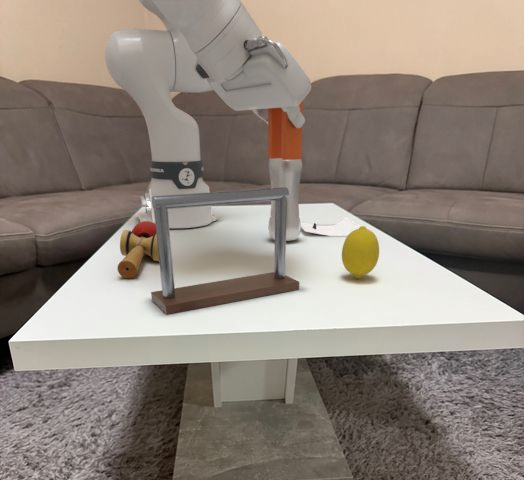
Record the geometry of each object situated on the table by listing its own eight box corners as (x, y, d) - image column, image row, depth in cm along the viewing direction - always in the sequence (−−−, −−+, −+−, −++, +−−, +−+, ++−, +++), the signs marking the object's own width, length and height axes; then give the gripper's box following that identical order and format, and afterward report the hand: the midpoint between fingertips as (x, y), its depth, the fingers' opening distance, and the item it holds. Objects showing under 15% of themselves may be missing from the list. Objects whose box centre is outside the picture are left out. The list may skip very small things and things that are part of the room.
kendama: (159, 286, 71) (176, 244, 86) (146, 248, 68) (166, 211, 83) (112, 294, 72) (136, 251, 87) (97, 257, 68) (125, 219, 83)
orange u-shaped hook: (267, 158, 75) (268, 94, 71) (283, 157, 77) (284, 95, 73) (285, 160, 71) (286, 92, 67) (301, 159, 72) (303, 93, 68)
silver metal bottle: (298, 245, 91) (302, 134, 82) (265, 243, 92) (265, 134, 84) (302, 238, 97) (306, 134, 88) (270, 236, 98) (271, 133, 89)
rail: (151, 300, 62) (139, 193, 56) (277, 278, 71) (279, 184, 65) (166, 314, 57) (155, 199, 51) (299, 289, 66) (303, 189, 60)
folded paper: (296, 226, 109) (296, 217, 108) (345, 225, 110) (346, 216, 109) (305, 236, 98) (305, 227, 97) (360, 235, 99) (361, 226, 98)
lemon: (354, 285, 68) (359, 231, 64) (333, 276, 72) (336, 224, 68) (383, 280, 70) (390, 227, 66) (360, 271, 74) (365, 221, 71)
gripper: (284, 14, 55) (341, 106, 64) (214, 40, 71) (268, 111, 80) (252, 54, 55) (314, 142, 64) (189, 71, 71) (246, 140, 80)
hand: (288, 125), depth 72 cm, fingers closed on orange u-shaped hook, 5 cm apart
